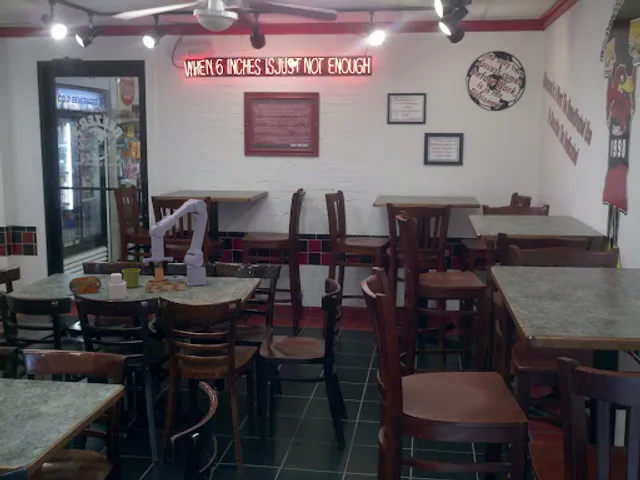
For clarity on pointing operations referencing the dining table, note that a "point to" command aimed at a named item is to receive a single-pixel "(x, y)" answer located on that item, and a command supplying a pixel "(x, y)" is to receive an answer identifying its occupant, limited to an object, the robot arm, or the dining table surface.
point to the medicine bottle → (117, 286)
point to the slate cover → (175, 278)
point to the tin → (84, 285)
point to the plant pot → (131, 277)
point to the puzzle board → (164, 286)
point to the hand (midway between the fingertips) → (158, 276)
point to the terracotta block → (158, 274)
